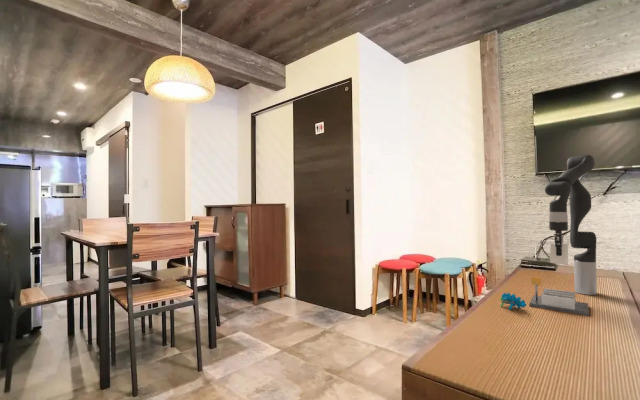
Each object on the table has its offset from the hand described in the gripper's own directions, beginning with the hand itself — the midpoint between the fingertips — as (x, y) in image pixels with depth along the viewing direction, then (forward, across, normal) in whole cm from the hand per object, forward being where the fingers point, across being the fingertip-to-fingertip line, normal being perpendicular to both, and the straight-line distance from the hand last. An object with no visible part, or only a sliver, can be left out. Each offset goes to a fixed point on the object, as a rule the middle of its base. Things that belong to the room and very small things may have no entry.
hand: (559, 255), depth 159 cm
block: (+4, 0, 0) cm, 4 cm away
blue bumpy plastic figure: (+23, +30, -16) cm, 41 cm away
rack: (+22, +14, 0) cm, 26 cm away
